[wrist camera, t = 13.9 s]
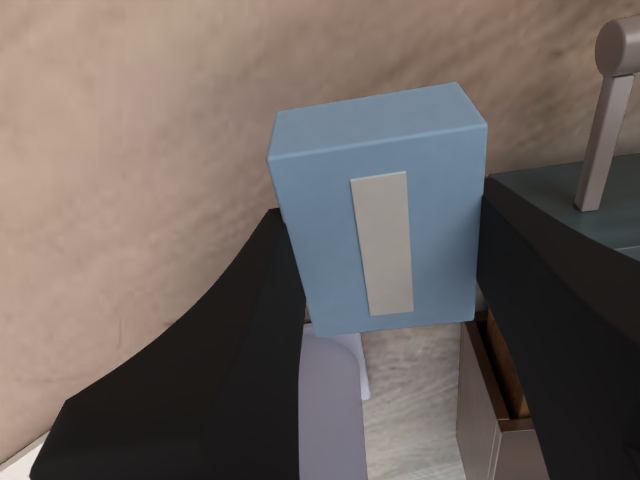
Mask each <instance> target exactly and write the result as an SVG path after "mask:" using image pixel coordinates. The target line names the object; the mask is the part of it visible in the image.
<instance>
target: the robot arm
mask: <svg viewBox="0 0 640 480" xmlns="http://www.w3.org/2000/svg"><path fill="white" fill-rule="evenodd" d="M476 280H477V282H478V284H479V287H480V289H481V291H482V293H483V295H484V298H485V300H486V302H487V304H488V306H489V308H490V311H491V313H492V315H493V317H494V319H495V321H496V324H497V326H498V328H499V330H500V332H501V334H502V337H503V339H504V341H505V343H506V345H507V348H508V350H509V353H510V355H511V358H512V360H513V363H514V366H515V369H516V372H517V375H518V378H519V381H520V384H521V387H522V390H523V393H524V396H525V399H526V403H527V406H528V409H529V412H530V415H531V418H532V422H533V425H534V428H535V431H536V434H537V438H538V441H539V445H540V448H541V452H542V455H543V458H544V462H545V465H546V469H547V472H548V476H549V479H550V480H640V261H638V260H636V259H633V258H631V257H629V256H627V255H624V254H622V253H620V252H618V251H616V250H614V249H611V248H609V247H607V246H605V245H603V244H601V243H599V242H597V241H595V240H593V239H591V238H589V237H587V236H585V235H583V234H582V233H580V232H578V231H576V230H574V229H573V228H571V227H569V226H567V225H565V224H564V223H562V222H560V221H559V220H557V219H555V218H554V217H552V216H550V215H549V214H547V213H546V212H544V211H542V210H541V209H539V208H538V207H536V206H535V205H533V204H532V203H530V202H529V201H527V200H526V199H524V198H523V197H521V196H520V195H518V194H517V193H515V192H514V191H512V190H511V189H509V188H508V187H506V186H505V185H503V184H502V183H500V182H499V181H497V180H496V179H494V178H492V177H491V178H484V190H483V195H482V200H481V215H480V229H479V243H478V257H477V272H476ZM305 308H306V296H305V292H304V288H303V285H302V281H301V278H300V274H299V270H298V267H297V263H296V259H295V256H294V252H293V249H292V245H291V241H290V238H289V234H288V230H287V227H286V223H284V222H283V218H282V215H281V211H280V208H273V209H269V210H268V211H267V213H266V214H265V216H264V217H263V218H262V220H261V221H260V223H259V224H258V226H257V227H256V229H255V230H254V232H253V233H252V235H251V236H250V238H249V239H248V241H247V242H246V243H245V245H244V246H243V248H242V249H241V250H240V252H239V253H238V255H237V256H236V257H235V259H234V260H233V261H232V263H231V264H230V265H229V266H228V268H227V269H226V270H225V271H224V273H223V274H222V275H221V276H220V277H219V279H218V280H217V281H216V282H215V283H214V285H213V286H212V287H211V288H210V289H209V290H208V291H207V292H206V293H205V294H204V295H203V296H202V297H201V298H200V299H199V300H198V301H197V303H196V304H195V305H194V306H193V307H192V308H191V309H189V310H188V311H187V312H186V313H185V314H184V315H183V316H182V317H181V318H179V319H178V320H177V321H176V322H175V323H174V324H173V325H171V326H170V327H169V328H168V329H167V330H166V331H165V332H163V333H162V334H161V335H160V336H159V337H158V338H156V339H155V340H154V341H153V342H151V343H150V344H149V345H147V346H146V347H145V348H144V349H142V350H141V351H140V352H138V353H137V354H136V355H134V356H133V357H131V358H130V359H129V360H127V361H126V362H125V363H123V364H122V365H120V366H119V367H117V368H116V369H115V370H113V371H112V372H110V373H109V374H107V375H105V376H104V377H102V378H101V379H99V380H98V381H96V382H95V383H93V384H91V385H90V386H88V387H87V388H85V389H84V390H82V391H81V392H79V393H77V394H76V395H74V396H72V397H71V398H69V399H67V400H66V401H65V403H64V405H63V407H62V408H61V410H60V412H59V414H58V416H57V418H56V420H55V422H54V424H53V426H52V428H51V430H50V432H49V434H48V436H47V438H46V440H45V442H44V444H43V445H42V447H41V449H40V451H39V453H38V455H37V457H36V459H35V461H34V463H33V465H32V467H31V470H30V474H29V478H30V480H368V476H367V463H366V450H365V437H364V424H363V411H362V400H367V399H369V398H370V397H371V392H370V386H369V380H368V375H367V369H366V363H365V357H364V352H363V346H362V340H361V335H360V333H353V334H343V335H334V336H325V337H316V336H315V333H314V330H313V326H312V323H308V324H304V318H305Z"/></svg>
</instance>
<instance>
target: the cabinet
mask: <svg viewBox="0 0 640 480" xmlns="http://www.w3.org/2000/svg"><path fill="white" fill-rule="evenodd" d="M487 321H488V312H480V313H475V314H474V319H473V320H472V321H464V322H462V325H461V346H460V366H459V386H458V407H457V427H456V438H457V442H458V446H459V451H460V455H461V459H462V463H463V467H464V471H465V475H466V479H467V480H550V479H549V476H548V472H547V469H546V465H545V462H544V458H543V455H542V452H541V448H540V445H539V441H538V438H537V434H536V431H535V428H534V425H533V422H532V418H523V419H511V420H510V417H509V414H508V412H507V409H506V406H505V403H504V400H503V398H502V395H501V392H500V389H499V386H498V384H497V381H496V378H495V375H494V372H493V370H492V367H491V364H490V361H489V358H488V356H487V353H486V350H485V340H486V331H487Z"/></svg>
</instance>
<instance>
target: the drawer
mask: <svg viewBox="0 0 640 480" xmlns="http://www.w3.org/2000/svg"><path fill="white" fill-rule="evenodd" d="M595 61H596V65H597V68H598V70H599V72H600V73H601V74H602V75H604V78H603V82H602V86H601V91H600V95H599V99H598V103H597V108H596V112H595V116H594V121H593V125H592V129H591V133H590V138H589V142H588V146H587V150H586V155H585V159H584V161H581V162H574V163H567V164H560V165H553V166H546V167H539V168H532V169H525V170H518V171H511V172H503V173H496V174H490V175H489V178H491V177H492V178H494V179H496V180H497V181H499V182H500V183H502V184H503V185H505V186H506V187H508V188H509V189H511V190H512V191H514V192H515V193H517V194H518V195H520V196H521V197H523V198H524V199H526V200H527V201H529V202H530V203H532V204H533V205H535V206H536V207H538V208H539V209H541V210H542V211H544V212H546V213H547V214H549V215H550V216H552V217H554V218H555V219H557V220H559V221H560V222H562V223H564V224H565V225H567V226H569V227H571V228H573V229H574V230H576V231H578V232H580V233H582V234H583V235H585V236H587V237H589V238H591V239H593V240H595V241H597V242H599V243H601V244H603V245H605V246H607V247H609V248H611V249H614V250H616V251H618V252H620V253H622V254H624V255H627V256H629V257H631V258H633V259H636V260H638V261H640V153H637V154H630V155H623V156H616V157H613V154H614V150H615V147H616V143H617V139H618V136H619V132H620V129H621V125H622V121H623V118H624V114H625V111H626V107H627V103H628V100H629V96H630V93H631V89H632V85H633V82H634V78H635V75H634V74H632V73H638V72H640V15H636V16H630V17H624V18H619V19H613V20H610V21H609V22H607V23H606V24H605V25H604V26H603V27H602V28H601V30H600V32H599V34H598V37H597V41H596V45H595ZM485 350H486V353H487V356H488V358H489V361H490V364H491V367H492V370H493V372H494V375H495V378H496V381H497V384H498V386H499V389H500V392H501V395H502V398H503V400H504V403H505V406H506V409H507V412H508V414H509V417H510V420H511V419H523V418H531V415H530V412H529V409H528V406H527V403H526V399H525V396H524V393H523V390H522V387H521V384H520V381H519V378H518V375H517V372H516V369H515V366H514V363H513V360H512V358H511V355H510V353H509V350H508V348H507V345H506V343H505V341H504V339H503V337H502V334H501V332H500V330H499V328H498V326H497V324H496V321H495V319H494V317H493V315H492V313H491V311H490V308H489V312H488V321H487V331H486V340H485Z"/></svg>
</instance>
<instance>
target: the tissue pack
mask: <svg viewBox="0 0 640 480" xmlns="http://www.w3.org/2000/svg"><path fill="white" fill-rule="evenodd" d="M487 135H488V124H487V122H486V121H485V120H484V118H483V117H482V115H481V114H480V113H479V111H478V110H477V109H476V107H475V106H474V104H473V103H472V102H471V100H470V99H469V98H468V96H467V95H466V93H465V92H464V91H463V89H462V88H461V87H460V85H459V84H458V82H451V83H445V84H439V85H433V86H427V87H421V88H415V89H409V90H403V91H397V92H391V93H385V94H379V95H373V96H367V97H361V98H355V99H349V100H343V101H337V102H331V103H325V104H319V105H313V106H307V107H301V108H295V109H289V110H284V111H278V112H277V113H276V117H275V121H274V126H273V131H272V135H271V140H270V145H269V149H268V154H267V159H266V161H267V164H268V168H269V172H270V175H271V179H272V182H273V186H274V190H275V193H276V197H277V200H278V204H279V208H280V211H281V215H282V218H283V222H284V223H286V227H287V230H288V234H289V238H290V241H291V245H292V249H293V252H294V256H295V259H296V263H297V267H298V270H299V274H300V278H301V281H302V285H303V288H304V292H305V296H306V305H307V308H308V312H309V315H310V319H311V322H312V326H313V330H314V333H315V336H316V337H325V336H334V335H343V334H353V333H362V332H371V331H381V330H390V329H399V328H408V327H418V326H427V325H436V324H445V323H455V322H464V321H472V320H473V319H474V314H475V300H476V286H477V280H476V272H477V257H478V243H479V229H480V215H481V200H482V195H483V190H484V176H485V162H486V148H487Z"/></svg>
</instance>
